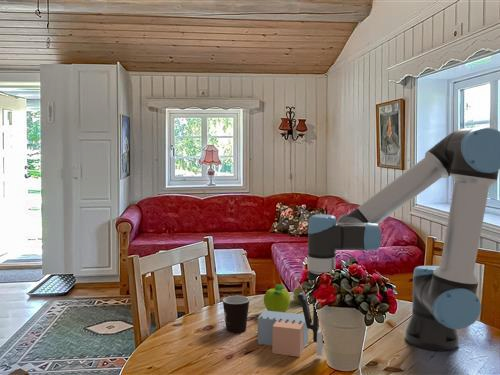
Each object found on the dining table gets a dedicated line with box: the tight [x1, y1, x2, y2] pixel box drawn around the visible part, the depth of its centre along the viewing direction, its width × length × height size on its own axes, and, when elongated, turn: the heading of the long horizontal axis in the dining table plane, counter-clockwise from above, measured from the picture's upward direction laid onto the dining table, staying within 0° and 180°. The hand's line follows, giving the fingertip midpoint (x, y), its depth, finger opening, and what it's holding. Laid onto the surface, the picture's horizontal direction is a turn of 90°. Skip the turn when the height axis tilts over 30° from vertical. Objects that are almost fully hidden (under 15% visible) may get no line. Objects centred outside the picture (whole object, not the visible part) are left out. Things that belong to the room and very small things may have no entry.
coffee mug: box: [222, 295, 250, 335], centre depth 159 cm, size 12×9×10 cm
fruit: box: [263, 283, 291, 313], centre depth 172 cm, size 9×9×10 cm
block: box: [272, 320, 304, 358], centre depth 141 cm, size 8×5×8 cm, turn 72°
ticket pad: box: [257, 309, 309, 351], centre depth 148 cm, size 14×7×8 cm, turn 72°
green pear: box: [292, 276, 303, 305], centre depth 186 cm, size 7×7×10 cm
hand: (320, 353), depth 137 cm, fingers closed
